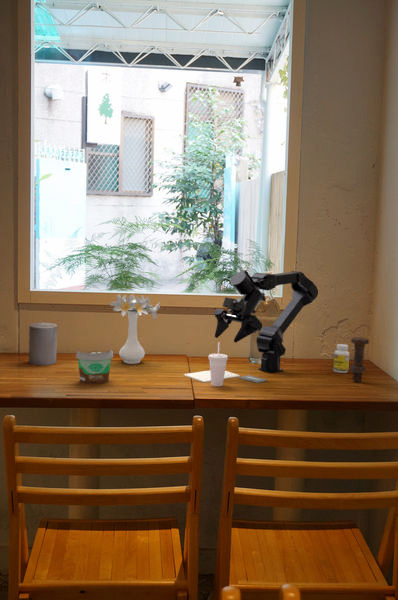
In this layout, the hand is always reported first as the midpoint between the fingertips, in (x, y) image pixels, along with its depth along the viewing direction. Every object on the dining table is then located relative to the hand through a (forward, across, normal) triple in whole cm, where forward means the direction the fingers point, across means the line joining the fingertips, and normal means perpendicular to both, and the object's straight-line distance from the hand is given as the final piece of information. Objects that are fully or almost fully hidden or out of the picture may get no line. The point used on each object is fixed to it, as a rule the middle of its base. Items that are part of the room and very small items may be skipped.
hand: (224, 339), depth 220 cm
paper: (+10, -6, +9) cm, 15 cm away
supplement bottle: (-19, +15, +43) cm, 49 cm away
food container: (+35, -20, -19) cm, 44 cm away
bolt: (-14, +28, +37) cm, 48 cm away
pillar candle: (+36, -54, -20) cm, 68 cm away
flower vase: (+17, -37, +2) cm, 41 cm away
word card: (+5, +6, +15) cm, 17 cm away
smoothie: (+15, +4, +4) cm, 16 cm away
